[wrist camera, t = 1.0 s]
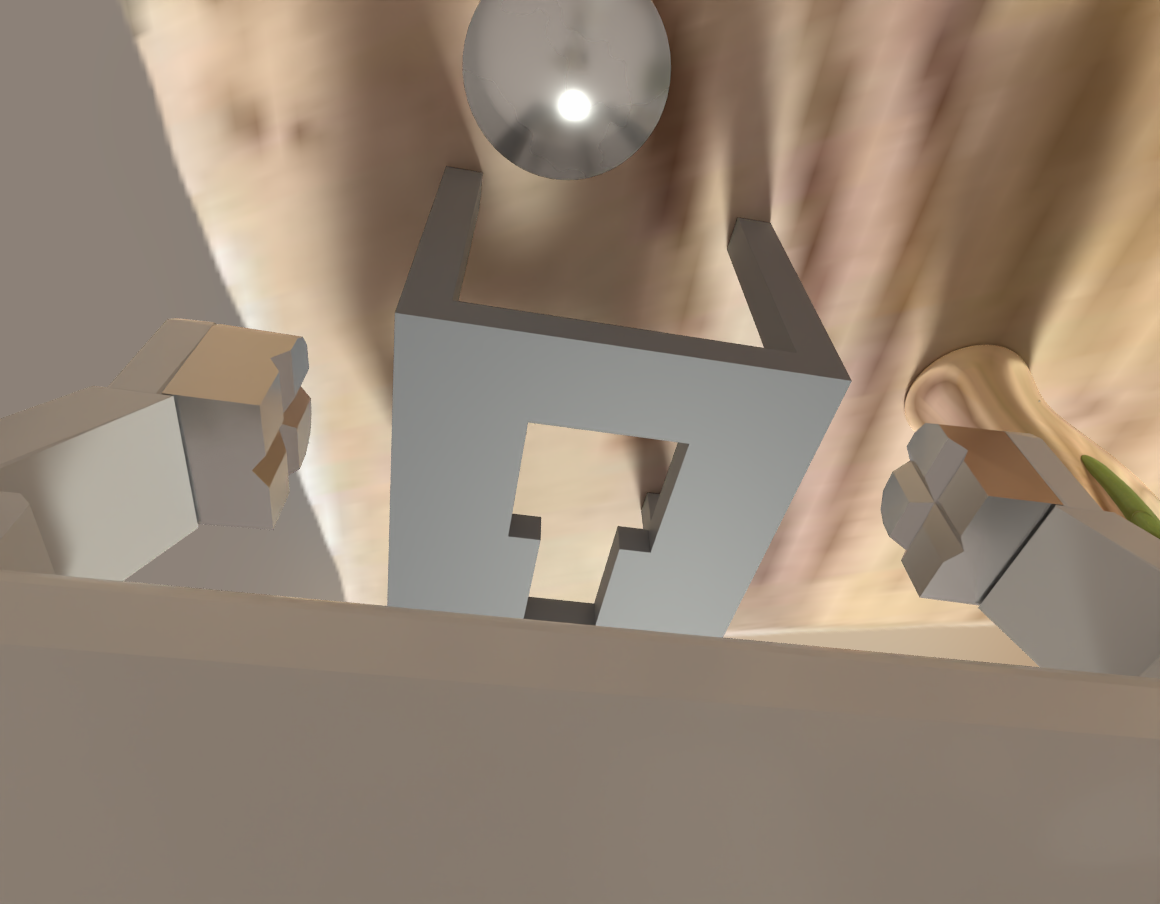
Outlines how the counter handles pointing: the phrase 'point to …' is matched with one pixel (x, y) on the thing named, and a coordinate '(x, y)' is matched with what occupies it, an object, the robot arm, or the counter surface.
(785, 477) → the keyhole stand
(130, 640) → the robot arm
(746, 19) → the counter surface
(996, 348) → the beer glass
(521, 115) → the steel peg
